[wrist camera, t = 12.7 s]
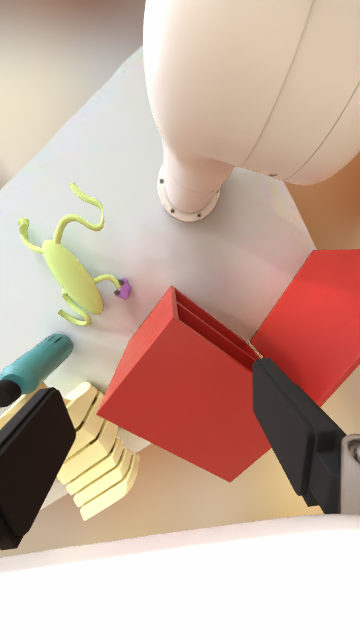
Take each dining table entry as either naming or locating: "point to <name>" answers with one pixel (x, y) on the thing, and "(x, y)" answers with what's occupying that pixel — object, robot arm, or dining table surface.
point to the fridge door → (317, 324)
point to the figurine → (74, 266)
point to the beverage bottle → (33, 368)
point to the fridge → (188, 389)
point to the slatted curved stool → (91, 452)
